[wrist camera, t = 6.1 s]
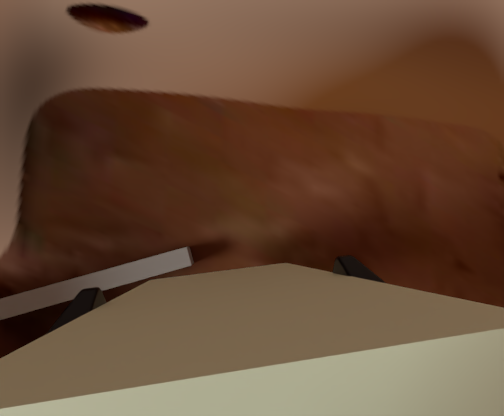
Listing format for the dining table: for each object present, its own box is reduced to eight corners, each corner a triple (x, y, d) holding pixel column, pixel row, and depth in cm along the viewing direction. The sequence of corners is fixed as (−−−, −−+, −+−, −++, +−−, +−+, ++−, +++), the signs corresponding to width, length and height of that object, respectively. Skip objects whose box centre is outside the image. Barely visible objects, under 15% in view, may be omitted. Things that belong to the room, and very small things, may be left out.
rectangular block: (292, 316, 16) (613, 592, 3) (153, 337, 15) (-144, 795, 3) (285, 263, 16) (560, 319, 3) (148, 280, 16) (-146, 431, 3)
